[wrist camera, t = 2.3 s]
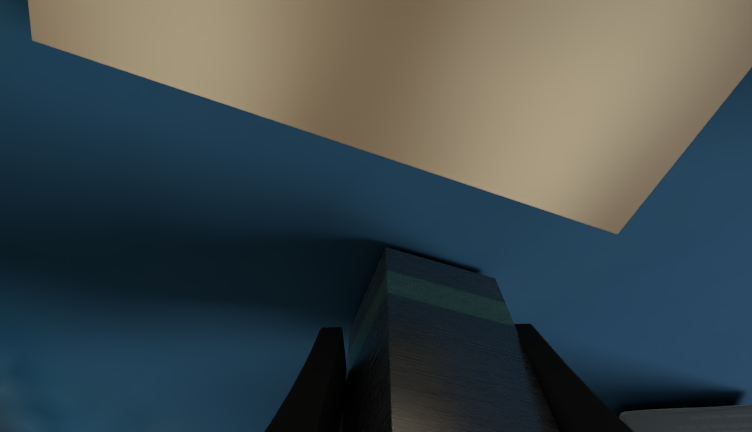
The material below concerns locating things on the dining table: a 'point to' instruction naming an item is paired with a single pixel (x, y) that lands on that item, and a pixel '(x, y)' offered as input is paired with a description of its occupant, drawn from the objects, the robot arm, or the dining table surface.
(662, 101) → the green-striped tan block
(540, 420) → the column
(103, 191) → the dining table surface
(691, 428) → the skincare box
